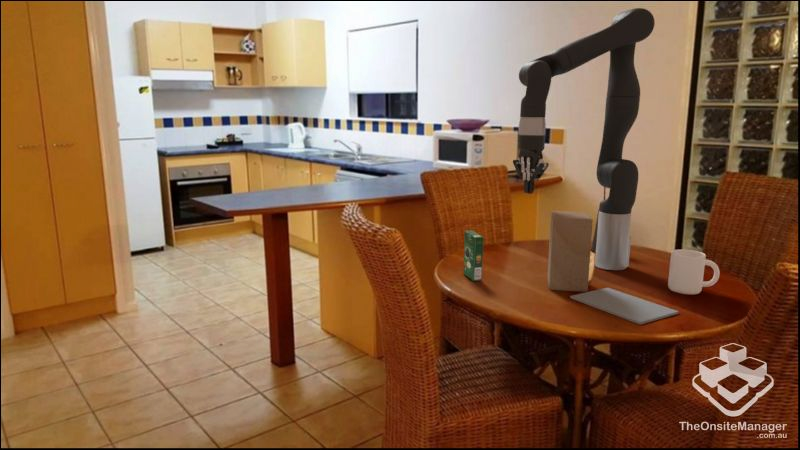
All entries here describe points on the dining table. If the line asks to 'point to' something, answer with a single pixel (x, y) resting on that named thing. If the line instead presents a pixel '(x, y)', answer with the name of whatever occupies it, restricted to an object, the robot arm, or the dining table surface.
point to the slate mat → (624, 305)
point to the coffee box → (473, 255)
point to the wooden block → (569, 251)
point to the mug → (689, 271)
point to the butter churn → (596, 231)
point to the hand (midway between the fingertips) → (528, 193)
